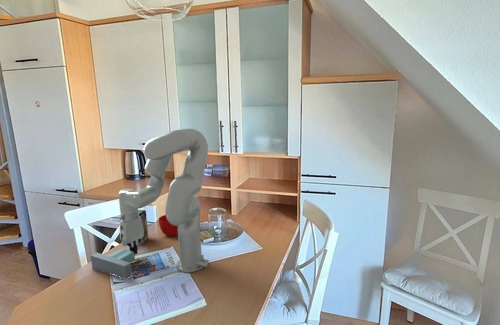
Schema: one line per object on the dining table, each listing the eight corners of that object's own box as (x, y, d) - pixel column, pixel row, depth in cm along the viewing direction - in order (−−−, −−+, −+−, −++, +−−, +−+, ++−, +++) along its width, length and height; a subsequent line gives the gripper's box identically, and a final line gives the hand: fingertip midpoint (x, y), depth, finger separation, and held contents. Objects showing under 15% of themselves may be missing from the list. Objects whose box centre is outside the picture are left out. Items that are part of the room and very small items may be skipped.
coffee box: (139, 245, 149) (136, 215, 146) (128, 244, 150) (125, 215, 148) (149, 238, 158) (146, 209, 155) (138, 237, 159) (135, 209, 156)
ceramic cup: (174, 243, 150) (173, 225, 149) (155, 235, 161) (153, 218, 159) (193, 234, 161) (192, 217, 159) (174, 228, 171) (172, 212, 169)
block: (135, 262, 132) (134, 252, 131) (117, 271, 124) (116, 260, 124) (124, 258, 136) (123, 248, 135) (106, 267, 128) (105, 256, 128)
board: (132, 276, 120) (130, 262, 119) (126, 279, 118) (124, 266, 117) (98, 264, 130) (96, 252, 129) (92, 268, 128) (90, 255, 127)
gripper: (120, 222, 123) (125, 262, 126) (148, 212, 136) (152, 248, 139) (109, 220, 127) (114, 259, 130) (138, 210, 140) (141, 245, 143)
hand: (133, 253), depth 134 cm, fingers closed
